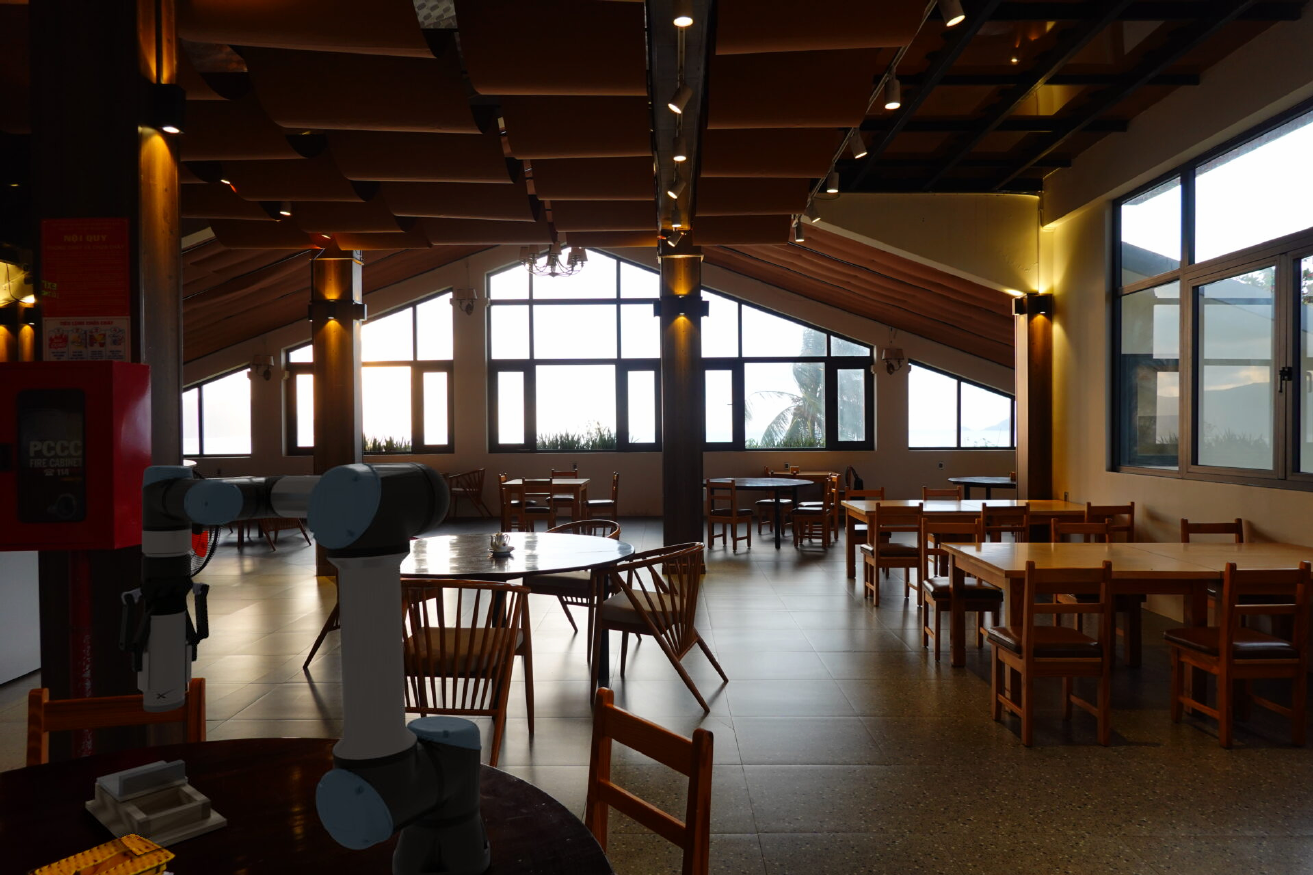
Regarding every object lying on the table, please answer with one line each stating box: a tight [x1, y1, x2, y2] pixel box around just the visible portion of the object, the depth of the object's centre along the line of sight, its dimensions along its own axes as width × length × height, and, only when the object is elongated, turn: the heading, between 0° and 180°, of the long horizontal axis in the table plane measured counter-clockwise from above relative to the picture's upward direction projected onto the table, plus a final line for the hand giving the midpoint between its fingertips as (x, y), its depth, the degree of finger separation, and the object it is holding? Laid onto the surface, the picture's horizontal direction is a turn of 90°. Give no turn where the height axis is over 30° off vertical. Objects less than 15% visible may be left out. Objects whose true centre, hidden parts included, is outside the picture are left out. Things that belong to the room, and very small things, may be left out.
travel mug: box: [142, 593, 187, 713], centre depth 144 cm, size 6×7×20 cm
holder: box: [84, 782, 228, 848], centre depth 146 cm, size 26×14×4 cm, turn 50°
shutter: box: [96, 759, 189, 802], centre depth 150 cm, size 12×11×4 cm
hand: (164, 684), depth 144 cm, fingers closed on travel mug, 6 cm apart
